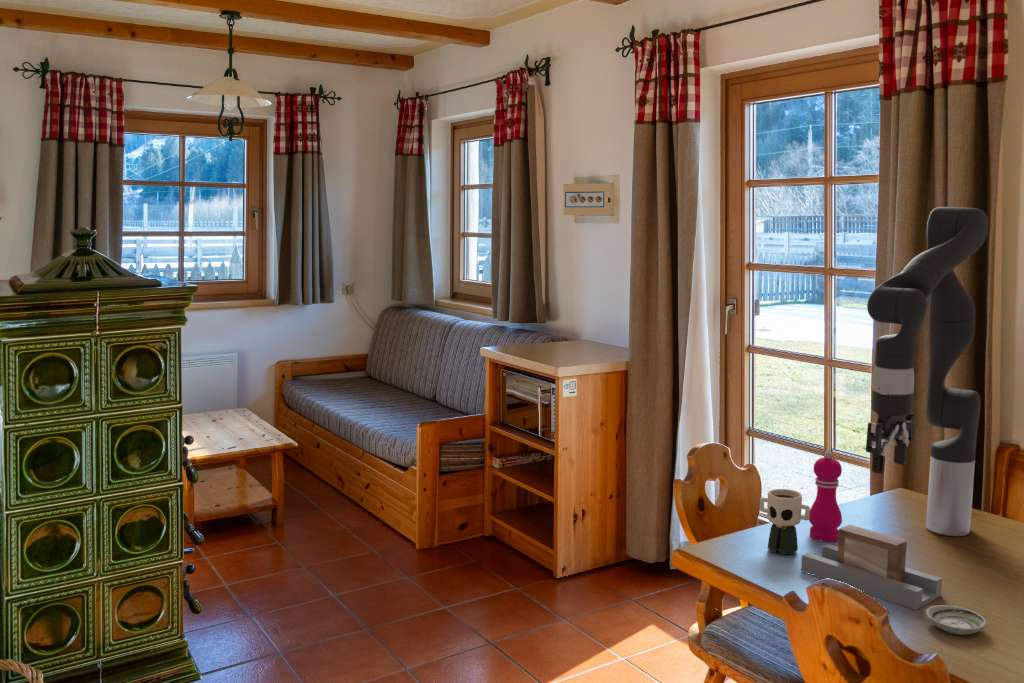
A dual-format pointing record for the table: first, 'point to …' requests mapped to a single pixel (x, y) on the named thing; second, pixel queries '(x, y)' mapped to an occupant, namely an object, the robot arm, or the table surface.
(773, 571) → the table surface
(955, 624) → the saucer
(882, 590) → the picture ledge
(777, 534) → the character mug
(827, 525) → the pepper mill
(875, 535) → the wooden framed block
